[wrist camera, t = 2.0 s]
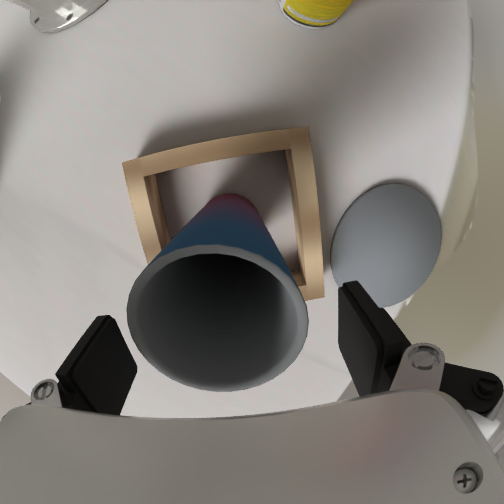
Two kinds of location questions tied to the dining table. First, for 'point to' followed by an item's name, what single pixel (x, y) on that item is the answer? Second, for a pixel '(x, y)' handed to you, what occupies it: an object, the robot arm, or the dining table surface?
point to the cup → (219, 302)
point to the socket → (290, 140)
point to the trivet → (387, 243)
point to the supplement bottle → (313, 11)
